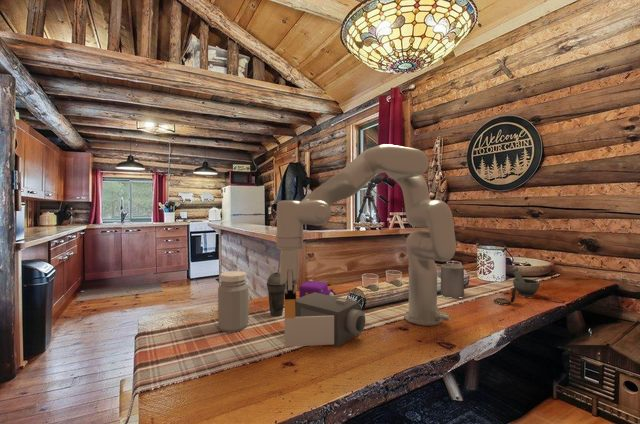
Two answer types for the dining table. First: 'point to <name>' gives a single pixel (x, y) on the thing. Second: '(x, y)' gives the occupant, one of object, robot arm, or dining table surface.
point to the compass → (505, 301)
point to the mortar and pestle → (524, 284)
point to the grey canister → (452, 280)
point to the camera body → (344, 311)
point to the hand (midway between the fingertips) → (290, 306)
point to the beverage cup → (276, 294)
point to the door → (307, 328)
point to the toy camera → (314, 288)
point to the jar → (232, 301)
